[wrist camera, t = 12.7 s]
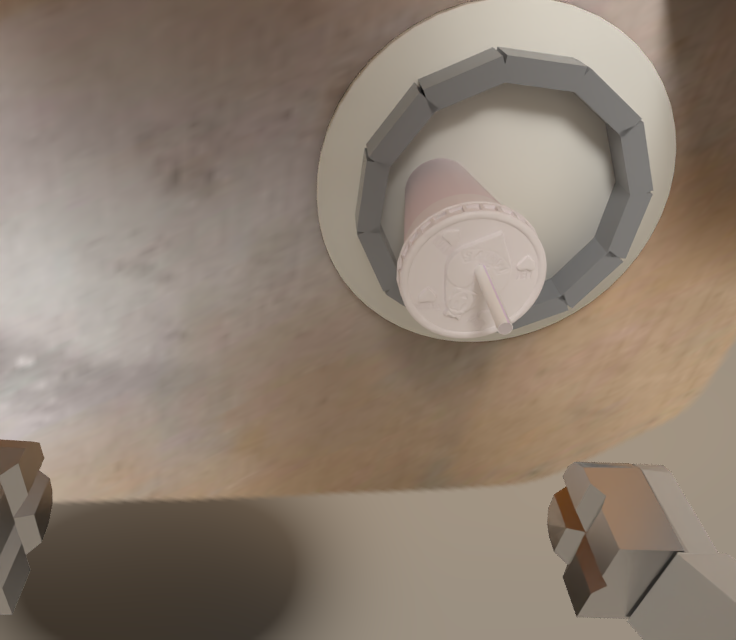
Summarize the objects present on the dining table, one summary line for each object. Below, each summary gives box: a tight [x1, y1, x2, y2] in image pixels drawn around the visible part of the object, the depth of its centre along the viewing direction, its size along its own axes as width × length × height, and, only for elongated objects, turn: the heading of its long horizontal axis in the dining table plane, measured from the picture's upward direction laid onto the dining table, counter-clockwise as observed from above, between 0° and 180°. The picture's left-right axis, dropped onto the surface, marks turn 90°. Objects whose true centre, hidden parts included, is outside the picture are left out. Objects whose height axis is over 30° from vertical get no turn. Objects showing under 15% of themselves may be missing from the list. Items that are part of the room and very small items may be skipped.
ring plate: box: [317, 0, 676, 342], centre depth 34 cm, size 20×20×3 cm
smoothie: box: [396, 158, 547, 338], centre depth 28 cm, size 6×6×14 cm
